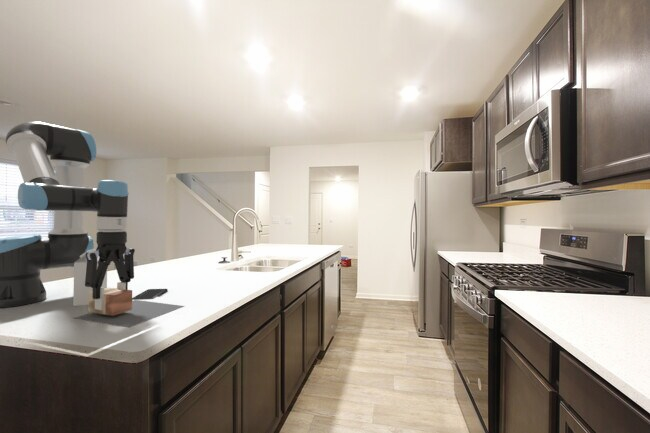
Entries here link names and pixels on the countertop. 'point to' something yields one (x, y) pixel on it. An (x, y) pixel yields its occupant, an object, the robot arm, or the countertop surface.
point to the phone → (150, 294)
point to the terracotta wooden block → (113, 301)
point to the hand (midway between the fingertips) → (110, 305)
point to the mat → (132, 314)
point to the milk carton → (83, 281)
